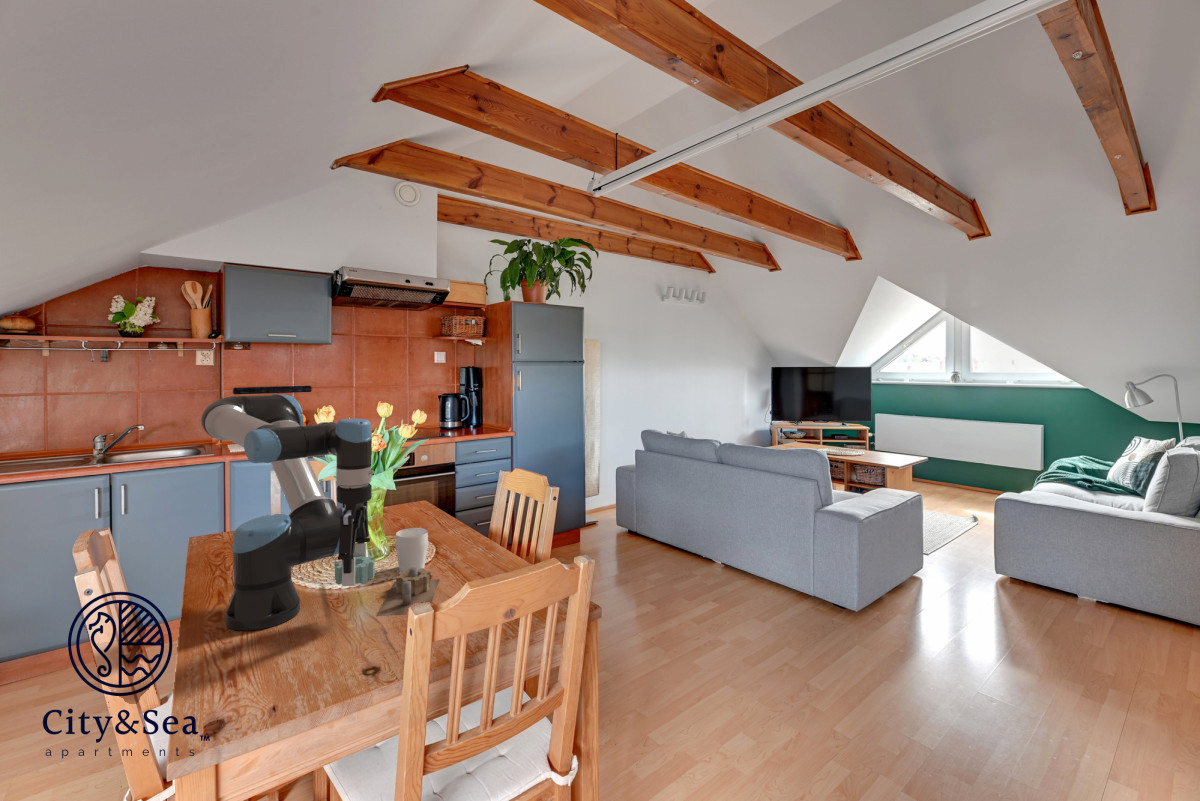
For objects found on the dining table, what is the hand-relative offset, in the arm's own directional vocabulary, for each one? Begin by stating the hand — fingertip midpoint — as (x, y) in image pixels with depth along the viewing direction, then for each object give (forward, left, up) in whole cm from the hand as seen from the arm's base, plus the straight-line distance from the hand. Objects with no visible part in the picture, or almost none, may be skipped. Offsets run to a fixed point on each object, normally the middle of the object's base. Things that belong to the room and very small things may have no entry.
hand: (354, 576), depth 126 cm
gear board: (+11, +8, -10) cm, 17 cm away
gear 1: (0, 0, 0) cm, 0 cm away
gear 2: (+11, +12, -9) cm, 19 cm away
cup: (+8, +27, -10) cm, 30 cm away
